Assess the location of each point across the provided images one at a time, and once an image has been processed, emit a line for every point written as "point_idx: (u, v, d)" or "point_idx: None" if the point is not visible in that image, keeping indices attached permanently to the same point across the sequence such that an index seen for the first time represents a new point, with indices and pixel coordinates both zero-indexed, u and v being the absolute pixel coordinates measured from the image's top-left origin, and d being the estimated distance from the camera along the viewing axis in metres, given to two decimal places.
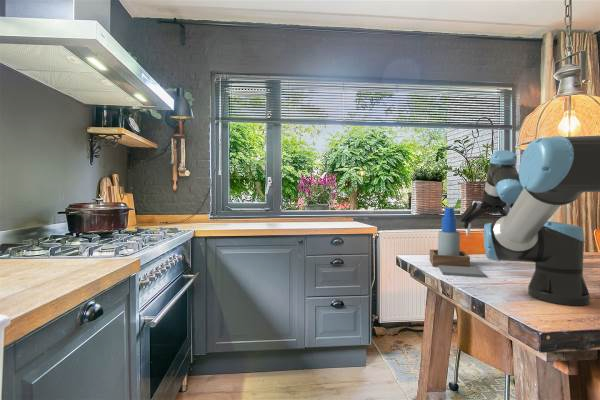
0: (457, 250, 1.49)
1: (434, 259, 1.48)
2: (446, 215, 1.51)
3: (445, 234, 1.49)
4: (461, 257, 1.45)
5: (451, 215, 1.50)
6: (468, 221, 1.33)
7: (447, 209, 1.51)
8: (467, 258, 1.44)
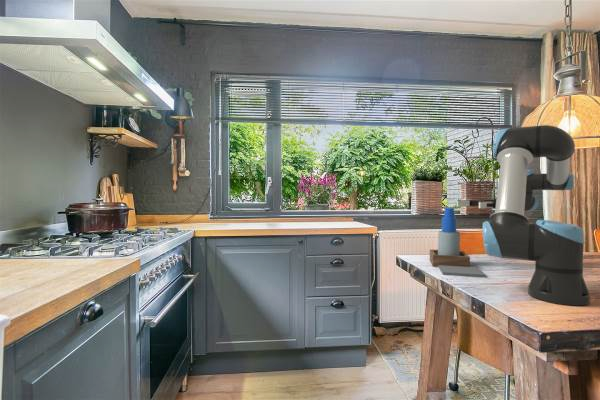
0: (457, 250, 1.49)
1: (434, 259, 1.48)
2: (446, 215, 1.51)
3: (445, 234, 1.49)
4: (461, 257, 1.45)
5: (451, 215, 1.50)
6: None
7: (447, 209, 1.51)
8: (467, 258, 1.44)
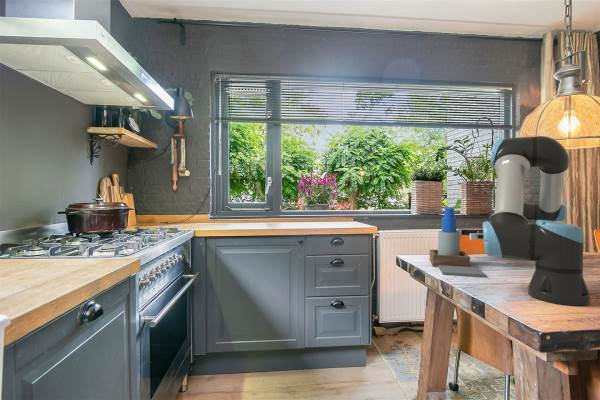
0: (457, 250, 1.49)
1: (434, 259, 1.48)
2: (446, 215, 1.51)
3: (445, 234, 1.49)
4: (461, 257, 1.45)
5: (451, 215, 1.50)
6: (461, 229, 1.64)
7: (447, 209, 1.51)
8: (467, 258, 1.44)
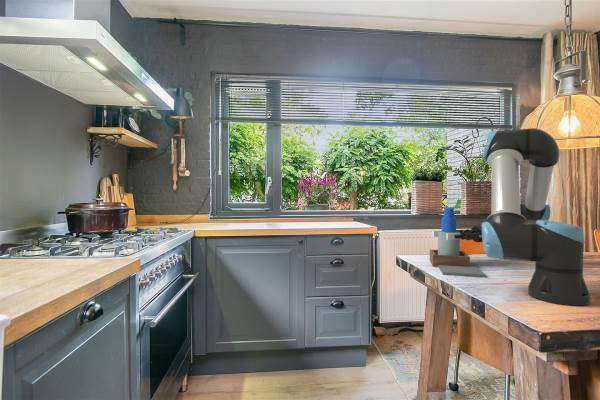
0: (457, 250, 1.49)
1: (434, 259, 1.48)
2: (446, 215, 1.51)
3: (445, 234, 1.49)
4: (461, 257, 1.45)
5: (451, 215, 1.50)
6: None
7: (447, 209, 1.51)
8: (467, 258, 1.44)
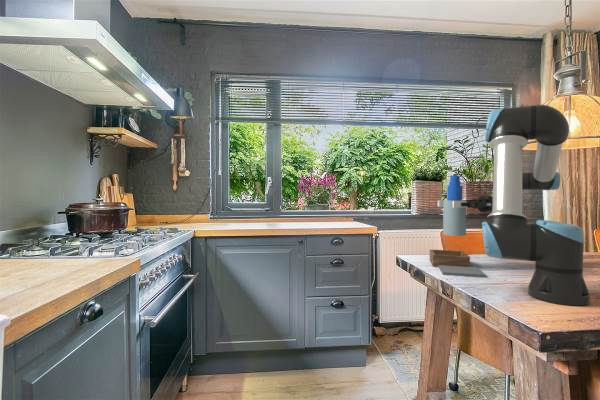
0: (463, 219, 1.43)
1: (434, 259, 1.48)
2: (452, 183, 1.45)
3: (451, 202, 1.43)
4: (461, 257, 1.45)
5: (457, 182, 1.44)
6: None
7: (453, 176, 1.45)
8: (467, 258, 1.44)
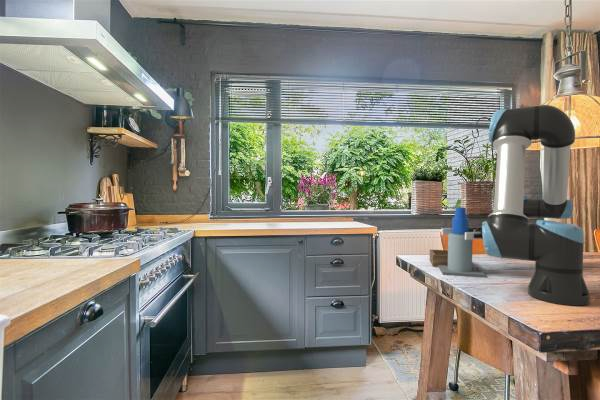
0: (469, 254, 1.34)
1: (434, 259, 1.48)
2: (457, 215, 1.37)
3: (456, 236, 1.35)
4: None
5: (463, 215, 1.36)
6: None
7: (458, 209, 1.36)
8: None
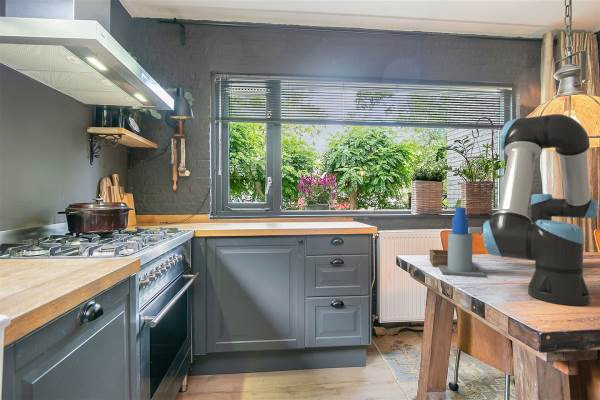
0: (469, 254, 1.34)
1: (434, 259, 1.48)
2: (457, 215, 1.37)
3: (456, 236, 1.35)
4: None
5: (463, 215, 1.36)
6: (482, 227, 1.50)
7: (458, 209, 1.37)
8: None
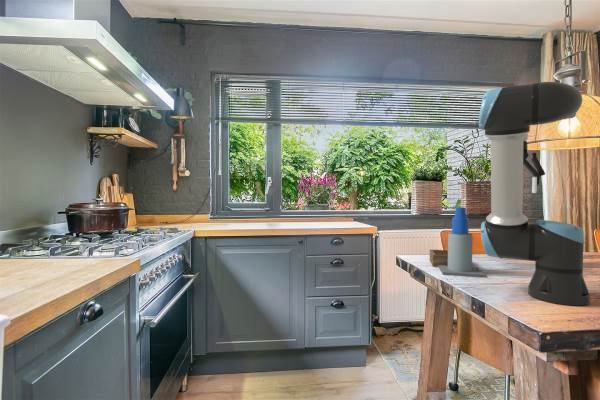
0: (469, 254, 1.34)
1: (434, 259, 1.48)
2: (457, 215, 1.37)
3: (456, 236, 1.35)
4: None
5: (463, 215, 1.36)
6: None
7: (458, 209, 1.37)
8: None
